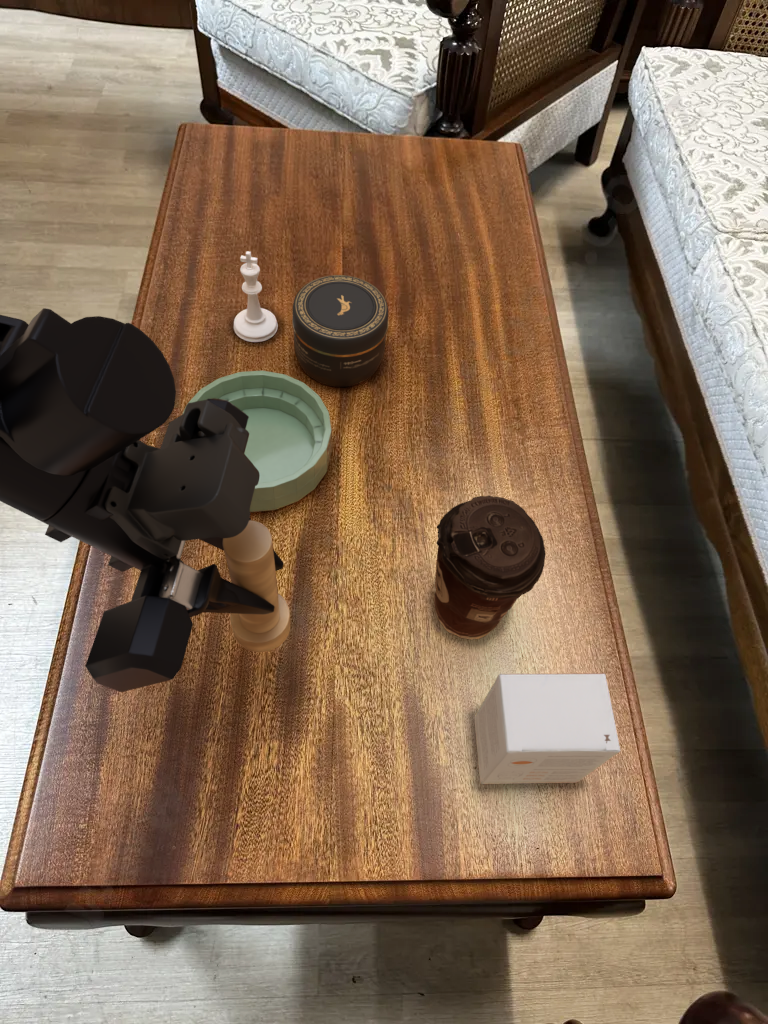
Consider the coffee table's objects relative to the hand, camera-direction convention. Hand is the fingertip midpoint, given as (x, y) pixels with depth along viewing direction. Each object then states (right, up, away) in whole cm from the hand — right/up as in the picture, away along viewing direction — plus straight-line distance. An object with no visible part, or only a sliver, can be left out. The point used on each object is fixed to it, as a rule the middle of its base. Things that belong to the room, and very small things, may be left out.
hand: (274, 589), depth 49 cm
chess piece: (-7, +26, +32) cm, 42 cm away
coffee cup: (+15, -3, +15) cm, 22 cm away
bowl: (-5, +11, +23) cm, 26 cm away
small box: (+19, -14, +9) cm, 25 cm away
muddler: (-2, -3, +6) cm, 7 cm away
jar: (+3, +22, +30) cm, 38 cm away
